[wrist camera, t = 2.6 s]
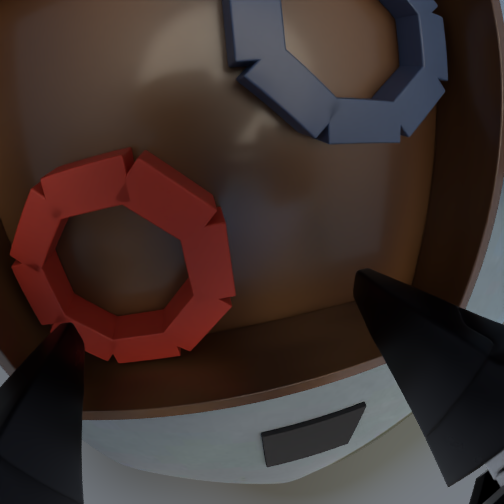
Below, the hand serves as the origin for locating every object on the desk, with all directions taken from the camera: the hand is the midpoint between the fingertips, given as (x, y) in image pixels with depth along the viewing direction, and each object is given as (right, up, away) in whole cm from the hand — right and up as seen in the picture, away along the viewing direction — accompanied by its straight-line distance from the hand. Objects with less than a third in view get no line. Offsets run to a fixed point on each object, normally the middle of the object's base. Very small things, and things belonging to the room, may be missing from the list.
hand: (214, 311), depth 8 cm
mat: (+7, -17, +17) cm, 25 cm away
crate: (0, +6, +2) cm, 6 cm away
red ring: (-4, +1, +3) cm, 5 cm away
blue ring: (+4, +10, 0) cm, 11 cm away
